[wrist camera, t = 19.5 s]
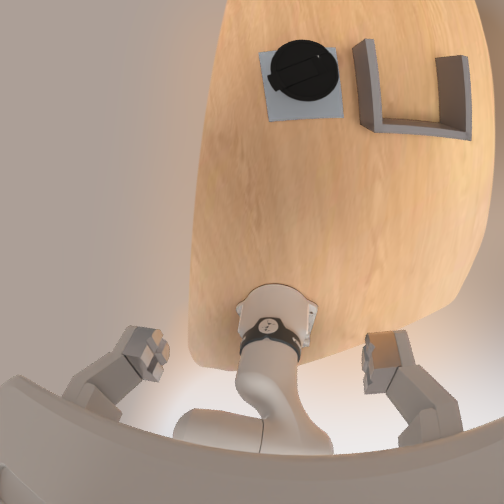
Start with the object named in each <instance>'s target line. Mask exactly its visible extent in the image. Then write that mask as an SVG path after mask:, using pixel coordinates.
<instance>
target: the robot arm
mask: <svg viewBox="0 0 504 504" xmlns="http://www.w3.org/2000/svg"><path fill="white" fill-rule="evenodd" d="M317 309H318V306H317V305H316V304H315V303H313V302H311V301H309V300H307V299H306V298H305V297H304V296H303V295H302V294H301V293H300V292H298V291H297V290H295V289H293V288H291V287H288V286H285V285H279V284H269V285H264V286H261V287H258V288H256V289H254V290H253V291H252V292H251V293H250V294H249V295H248V296H247V298H246V299H245V300H244V301H243V302H241V303H239V304H238V305H237V306H236V311H237V313H238V315H239V317H240V321H239V326H238V333H239V334H240V336H241V338H242V341H241V344H240V356H241V357H240V361H239V366H238V370H237V374H236V378H235V386H236V389H237V391H238V393H239V394H240V396H241V397H242V398H243V400H244V401H246V402H247V403H248V404H250V405H251V406H252V407H254V408H255V409H256V410H257V411H258V413H259V414H260V416H261V418H262V419H258V418H254V417H248V416H244V415H239V414H234V413H230V412H225V411H220V410H209V409H196V408H194V409H192V410H190V411H188V412H187V413H185V414H184V415H183V416H182V417H181V418H180V419H179V421H178V422H177V424H176V426H175V428H174V432H173V438H169V437H165V436H161V435H158V434H154V433H151V432H147V431H144V430H141V429H137V428H135V427H132V426H129V425H126V424H123V423H120V422H119V420H120V418H121V416H122V412H121V411H120V410H119V409H118V408H117V407H116V406H115V405H116V404H117V403H118V402H119V401H120V400H122V398H124V397H125V396H126V395H127V394H128V393H129V392H130V391H131V390H132V389H134V388H135V387H136V386H137V385H138V384H139V383H140V382H141V381H142V380H148V381H153V382H159V380H160V378H161V375H162V373H163V367H162V366H163V365H164V364H165V363H167V361H168V359H169V355H170V348H169V345H168V343H167V341H165V340H164V339H163V338H162V337H163V334H162V332H161V330H159V329H152V328H145V327H138V326H131V325H130V326H128V327H127V328H126V329H125V331H124V333H123V334H122V336H121V338H120V339H119V341H118V343H117V344H116V346H115V348H114V350H113V351H112V352H109V353H107V354H106V355H104V356H103V357H101V358H100V359H98V360H97V361H95V362H94V363H92V364H91V365H89V366H88V367H86V368H85V369H84V370H82V371H80V372H79V373H77V374H76V375H74V376H73V378H72V379H71V381H70V383H69V384H68V386H67V388H66V390H65V392H64V393H63V395H62V397H60V396H58V395H56V394H54V393H52V392H50V391H48V390H46V389H45V388H43V387H41V386H39V385H37V384H36V383H34V382H32V381H31V380H29V379H27V378H26V377H24V376H22V375H16V376H14V377H13V378H11V379H9V380H8V381H7V382H5V383H4V384H2V385H1V386H0V504H504V417H501V418H499V419H497V420H494V421H492V422H489V423H487V424H484V425H482V426H479V427H476V428H473V429H471V430H467V431H463V427H462V421H461V416H460V411H459V407H458V402H457V400H456V399H454V397H452V396H451V394H449V393H448V392H447V391H446V390H445V389H444V388H443V387H442V386H441V385H440V384H439V383H438V382H437V381H436V380H435V379H434V378H433V377H432V376H431V375H430V374H428V372H426V371H425V370H424V369H423V368H422V367H421V366H420V365H416V364H415V360H414V356H413V353H412V349H411V345H410V342H409V338H408V335H407V332H406V330H398V331H385V332H374V333H367V334H366V337H365V343H366V345H365V346H364V347H363V350H362V370H363V371H364V372H365V376H364V379H363V383H364V392H365V394H377V393H386V395H387V396H388V398H389V399H390V400H391V402H392V403H393V404H394V405H395V407H396V408H397V410H398V411H399V412H400V414H401V415H402V416H403V418H404V419H405V420H406V422H407V423H408V424H409V426H408V427H407V428H406V429H405V430H404V431H403V432H402V433H401V435H400V436H399V437H398V443H399V448H394V449H387V450H381V451H372V452H364V453H353V454H339V455H333V453H334V451H333V445H332V442H331V440H330V438H329V436H328V435H327V434H326V432H324V431H323V430H321V429H320V428H319V427H318V426H317V425H316V424H315V423H313V421H312V420H311V419H310V418H309V416H308V415H307V413H306V412H305V410H304V408H303V406H302V404H301V401H300V399H299V395H298V390H297V364H298V362H299V360H300V355H301V349H302V348H303V347H305V346H306V347H308V346H309V344H310V337H309V336H310V333H311V330H312V327H313V323H314V320H315V317H316V313H317Z"/></svg>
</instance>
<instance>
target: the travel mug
mask: <svg viewBox="0 0 504 504" xmlns="http://www.w3.org/2000/svg"><path fill="white" fill-rule="evenodd" d="M270 71H271V74H270V75H267V78H268V81H269V83H270V85H271V86H272V88H273V90H274V91H275V92H276V91H278V90H280V91H281V92H282V93H284V94H285V95H287V96H288V97H290V98H292V99H295V100H299V101H305V102H310V101H316V100H320V99H322V98H324V97H326V96H327V95H329V94H330V93H331V92H332V91H333V90H334V89H335V87H336V85H337V83H338V79H339V72H338V65H337V62H336V60H335V58H334V57H333V55H332V54H331V53H330V52H329V51H328V50H327V49H326V48H325V47H324V46H322V45H321V44H319V43H317V42H313V41H310V40H295V41H291V42H288V43H286V44H284V45H283V46H281V47H280V48H279V49H278V50H277V51H276V52H275V54H274V56H273V58H272V60H271V64H270Z"/></svg>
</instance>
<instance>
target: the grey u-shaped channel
mask: <svg viewBox="0 0 504 504" xmlns="http://www.w3.org/2000/svg"><path fill="white" fill-rule="evenodd" d="M352 50H353V57H354V64H355V72H356V80H357V89H358V100H359V112H360V125H362V126H364V127H366V128H367V129H369V130H371V131H373V132H374V133H399V134H414V135H427V136H437V137H446V138H454V139H461V140H468V141H471V137H472V101H471V83H470V72H469V63H468V57H466V56H463V55H457V56H448V57H440V58H435V59H436V67H437V77H438V90H439V110H440V123H436V122H427V121H417V120H406V119H390V118H382V105H381V92H380V82H379V72H378V64H377V57H376V50H375V44H374V39H364V40H363V41H361V42H360V43H359V44H357V45H356V46H355V47H353V48H352Z"/></svg>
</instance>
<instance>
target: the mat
mask: <svg viewBox="0 0 504 504" xmlns="http://www.w3.org/2000/svg"><path fill="white" fill-rule="evenodd" d="M326 49H327V50H328V51H329V52H330V53H331V54H332V55H333V57H334V58H335V60H336V62H337V65H338V61H337V55H336V48H326ZM275 52H276V51H268V52H260V53H259V59H260V65H261V71H262V77H263V84H264V90H265V97H266V104H267V110H268V117H269V122H273V121H284V120H297V119H315V118H344V115H343V104H342V94H341V85H340V76H339V79H338V83H337V85H336V87H335V89H334V90H333V91H332V92H331V93H330V94H329V95H327V96H326V97H324V98H322V99H320V100H316V101H310V102H305V101H299V100H295V99H292V98H290V97H288V96H287V95H285V94H284V93H282V92H281V91H280V90H278V91H276V92H275V91H274V90H273V88H272V86H271V85H270V83H269V81H268V78H267V75H270V74H271V71H270V64H271V60H272V58H273V56H274V54H275ZM338 72H339V69H338Z"/></svg>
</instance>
